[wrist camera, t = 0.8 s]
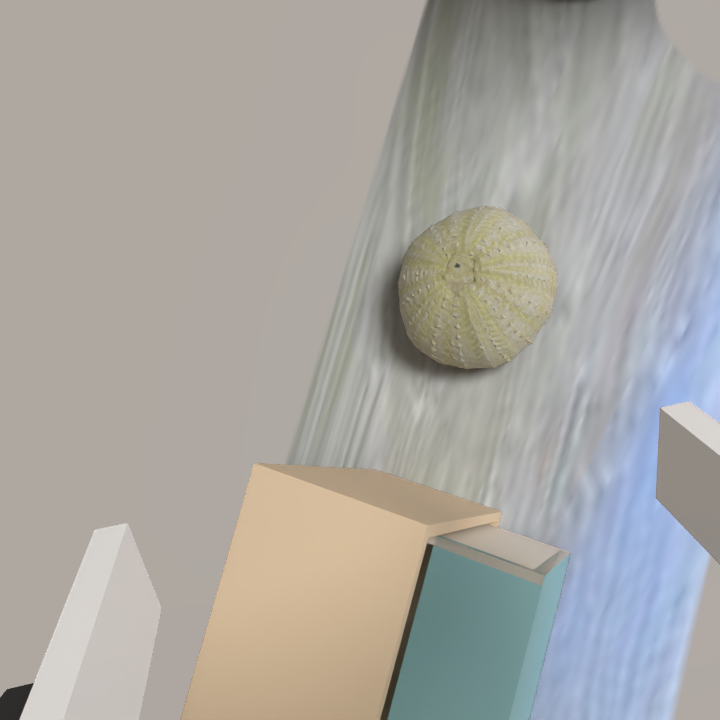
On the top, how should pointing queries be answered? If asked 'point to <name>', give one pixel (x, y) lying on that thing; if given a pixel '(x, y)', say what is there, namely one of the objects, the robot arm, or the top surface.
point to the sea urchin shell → (476, 288)
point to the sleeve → (318, 593)
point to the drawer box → (477, 627)
